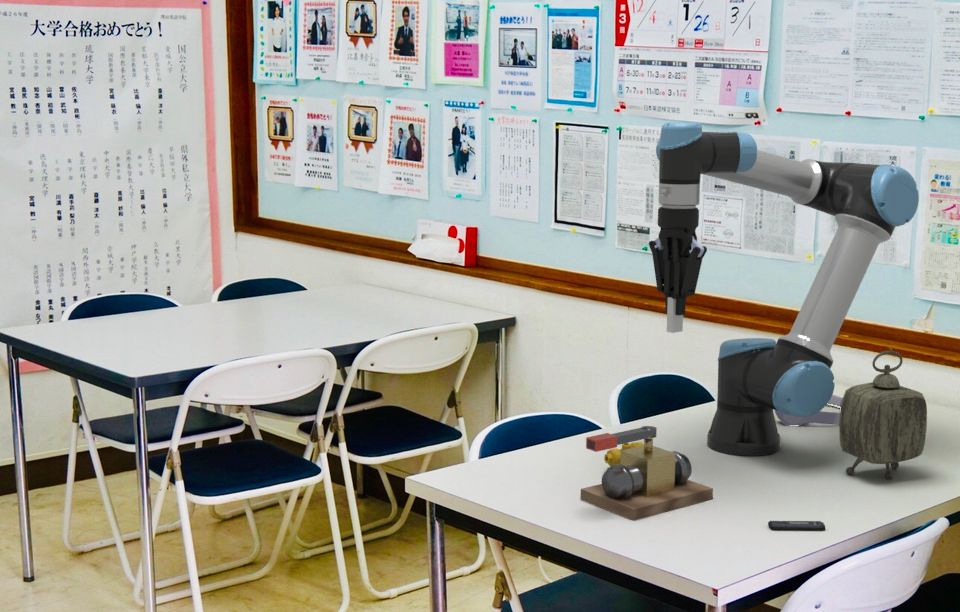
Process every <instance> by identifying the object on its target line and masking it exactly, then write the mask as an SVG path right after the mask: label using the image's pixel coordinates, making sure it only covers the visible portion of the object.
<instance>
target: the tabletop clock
mask: <svg viewBox="0 0 960 612" xmlns="http://www.w3.org/2000/svg"><path fill="white" fill-rule="evenodd" d="M885 355H886V356H887V355H895V356H897V357H898V358H899V364H898V365H896V366H893V367H891V366H890V365H889V364H885V365H884V368H878V367H877V366H876V364H875V363H876V361H877V360H879V358H880V357H882V356H885ZM903 360H904V359H903V357H902V355H901V354H900V353H899V352H898V351H896V350H885V351H881V352H880V353H878V354H876V355H875V357H874V358H873V361H872V363H871V364H872V367H873V368H872V369H874V370H875V371H876V372H879V373H880V374H877V375H875V377H874V378H873V380H872V381H871V382H866V383H862V384H856V385H853V386H850V387H849V388H847V389H846V390H845V391H844V394H843V397H842V398H843V400H842V405H841V410H840V420H839V425H838V427H839V429H838V430H839V444H840V448H841V451H842V452H843V453H846V454H848V455H849V456H853V457H855V458H856V460H855V462H854V463H853V465H852V466H848V467H847V468H846V470H845V472H846V475H848V476H849V475H850V476H852V475H854V474H855V471H856V470H855V468H857V467H858V466H859V464H860V463H862V462H864V461H865V462H866V463H867V462H868V463H869V464H872V465H873V464H874V465H885V468H886V471H885V472H884V478H885V479H886V480H887V481H889V480H892V479H893V478H894V473H893V472H892V471H891V470H890V469H892V470H897V469H899V467H900V465H899V464H900V463H901V462H906V461H909V460H912V459H915V458H918V457H919V456H921V455H922V454H923V451H924V447H925V444H926V436H927V435H926V434H927V425H928V424H927V423H928V406H927V402H926V399H925V397H924V394H923V393H922V392H920V391H917V390H915V389H911V388H908V387H906V386H901V385H900V381H899V379H898V377H897V376H896V375H894V374H893V372H895V371H897V370H898V369H900V367H901V366H902V364H903Z"/></svg>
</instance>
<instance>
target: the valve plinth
mask: <svg viewBox="0 0 960 612" xmlns="http://www.w3.org/2000/svg"><path fill="white" fill-rule="evenodd" d="M713 497H714V488H712V487H710V486H707V485H704V484H702V483H698V482H695V481H692V480H690V479H688V480H687V481H686V483H684V484H681V485H678V484H675V483H674V490H672V491H669V492H665V493H661V494H657V495H653V496H650V497H645V496H642V495H639V494H637V493H633V494H632V495H631V497H630V498H628V499H622V498H619V497H618V498H610V497H608V496H607V495H606V494H605V492H604V490H603V487H602V483H599V484H596V485H595V484H594V485H591V486H587V487H584V488H581V489H580V500H581V501H583V502H586V503H589V504H591V505H594V506H596V507H598V508H601V509H604V510H606V511H609V512H611V513H614V514H615V515H619V516H621V517H624V518H626V519H628V520H631V521H637V520H641V519H644V518H648V517H651V516H656V515H658V514H662V513H666V512H669V511H673V510H676V509H680V508H683V507H688V506H691V505H695V504H700V503H703V502H705V501H709V500H713V499H714V498H713Z"/></svg>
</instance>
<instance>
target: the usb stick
mask: <svg viewBox="0 0 960 612" xmlns="http://www.w3.org/2000/svg"><path fill="white" fill-rule="evenodd" d="M767 525H768V528H769V529H770V530H771V531H774V532H775V531H777V532H778V531H781V532H782V531H785V532H786V531H787V532H788V531H789V532H793V531H794V532H795V531H796V532H797V531H798V532H802V531H803V532H812V531H813V532H824V531H826V525H825V524H824V522H822V521H821V520H769V521H768V522H767Z"/></svg>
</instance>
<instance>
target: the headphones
mask: <svg viewBox="0 0 960 612" xmlns="http://www.w3.org/2000/svg"><path fill="white" fill-rule="evenodd" d="M842 400H843V397H841V396H840V395H839V396H838V395H835V394H832V397H831V399H830V400H829V402H828V404H833V405H837V406H840V407H841V405H842ZM773 412H774V414H775V415H776V417H777V418H778V419H779V421H780V422H781V423H782V424H783V425H785V426H786V425H801V426H803V425H804V424H807V423H811V424H813V423H814V424H822V425H823V424H824V425H833V426H836V425H837V426H839V420H840V412H841V411H840V412H838V411H837V412H836V411H835V412H834V411H824V410H823V411H822V410H821V411H819V412H818V413H816V414H813V415H811V416H809V417H796V416H792V415H785V414H783V413H781V412H779V411H777V410H774V409H773Z"/></svg>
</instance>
